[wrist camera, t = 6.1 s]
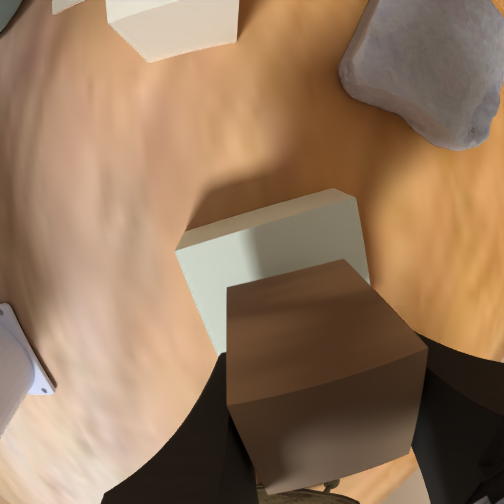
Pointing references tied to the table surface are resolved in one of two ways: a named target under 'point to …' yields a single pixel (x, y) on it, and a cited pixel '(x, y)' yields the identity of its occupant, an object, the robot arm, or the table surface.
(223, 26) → the off-white block
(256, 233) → the base block
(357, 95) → the stone block
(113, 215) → the table surface
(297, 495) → the tabletop clock
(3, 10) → the mug
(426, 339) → the robot arm
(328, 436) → the walnut block
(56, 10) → the card
